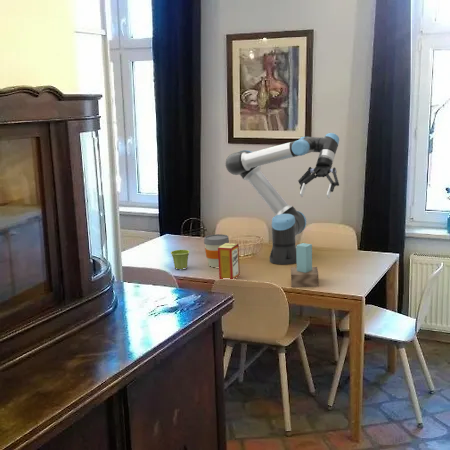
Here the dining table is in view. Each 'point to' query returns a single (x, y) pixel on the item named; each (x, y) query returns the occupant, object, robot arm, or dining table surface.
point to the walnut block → (304, 278)
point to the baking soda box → (228, 260)
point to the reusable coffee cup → (214, 247)
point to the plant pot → (180, 258)
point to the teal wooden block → (304, 257)
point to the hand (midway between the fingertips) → (314, 196)
